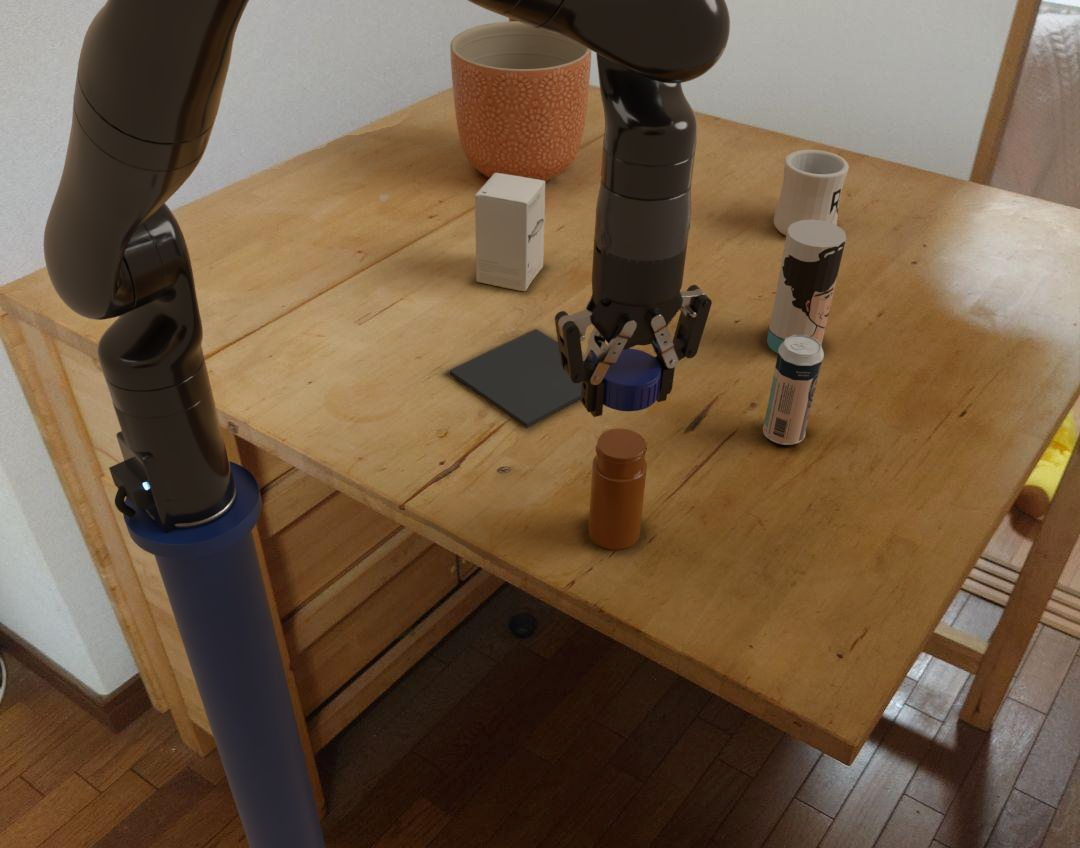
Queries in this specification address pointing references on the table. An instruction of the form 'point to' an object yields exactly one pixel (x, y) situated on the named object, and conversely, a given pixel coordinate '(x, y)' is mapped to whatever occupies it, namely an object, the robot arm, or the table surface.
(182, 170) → the robot arm
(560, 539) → the table surface
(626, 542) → the jar
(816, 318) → the white cylindrical canister
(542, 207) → the white packaging box
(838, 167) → the mug
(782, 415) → the beer can
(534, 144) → the planter
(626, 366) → the jar lid
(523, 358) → the mat
